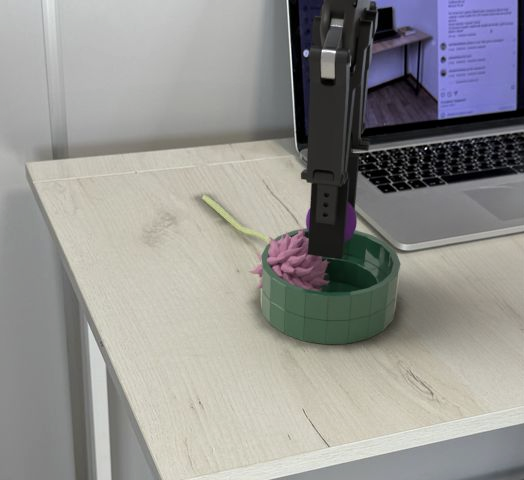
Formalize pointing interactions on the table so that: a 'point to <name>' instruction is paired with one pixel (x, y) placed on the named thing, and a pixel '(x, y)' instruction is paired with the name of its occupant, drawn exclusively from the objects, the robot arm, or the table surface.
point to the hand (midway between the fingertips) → (331, 240)
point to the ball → (350, 222)
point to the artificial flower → (285, 256)
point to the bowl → (336, 294)
